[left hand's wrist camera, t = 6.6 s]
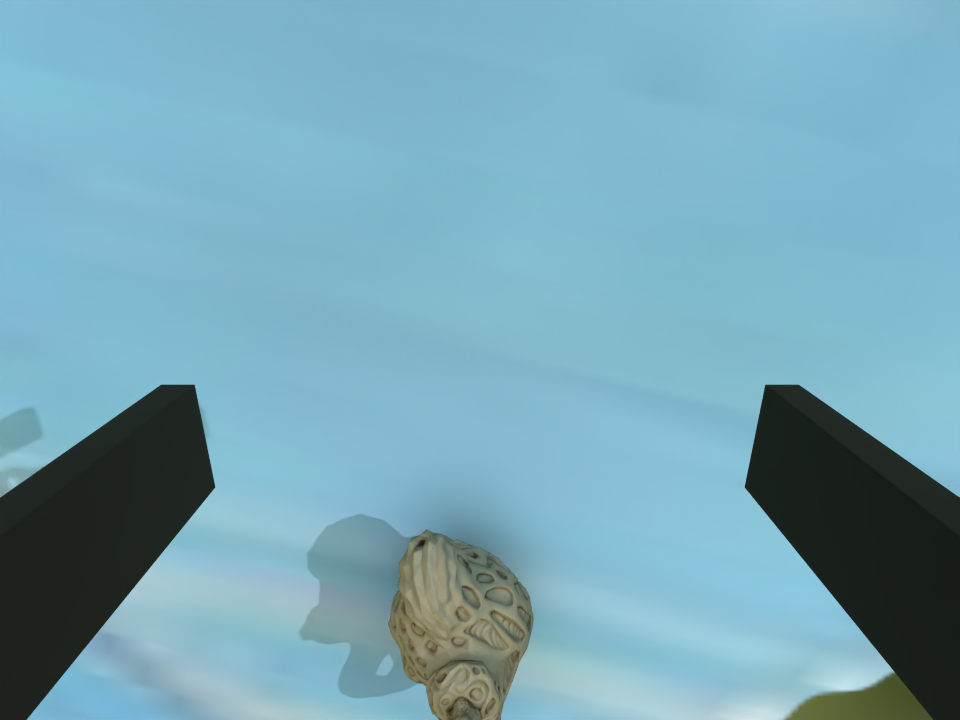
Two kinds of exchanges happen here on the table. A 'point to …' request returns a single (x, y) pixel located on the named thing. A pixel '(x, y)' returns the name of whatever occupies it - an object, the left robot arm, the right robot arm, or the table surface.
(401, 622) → the beige patterned figurine
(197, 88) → the table surface
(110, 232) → the table surface
